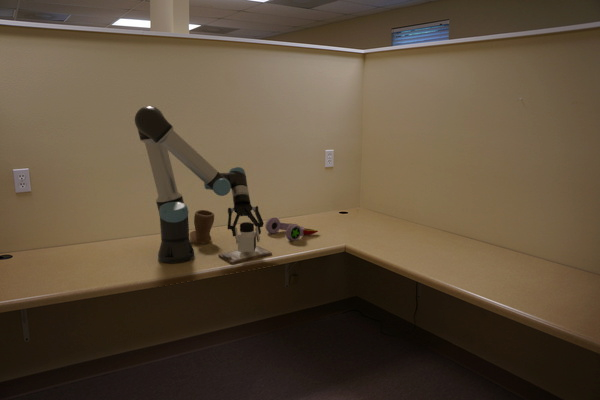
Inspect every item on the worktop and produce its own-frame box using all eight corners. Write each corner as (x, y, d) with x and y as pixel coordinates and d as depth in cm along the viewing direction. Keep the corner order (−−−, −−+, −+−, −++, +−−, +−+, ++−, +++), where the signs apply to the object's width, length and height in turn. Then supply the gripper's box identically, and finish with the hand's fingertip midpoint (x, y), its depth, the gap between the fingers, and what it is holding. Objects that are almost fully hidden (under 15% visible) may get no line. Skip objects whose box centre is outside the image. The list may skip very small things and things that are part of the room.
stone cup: (216, 244, 213) (215, 213, 210) (190, 246, 210) (188, 215, 207) (213, 235, 227) (212, 206, 224) (189, 237, 224) (188, 207, 221)
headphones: (263, 219, 228) (293, 209, 240) (265, 237, 231) (295, 226, 243) (287, 227, 214) (318, 215, 226) (289, 246, 216) (320, 234, 229)
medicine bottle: (254, 252, 193) (254, 225, 191) (237, 252, 193) (237, 225, 191) (256, 247, 200) (255, 221, 198) (240, 246, 200) (239, 220, 198)
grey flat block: (232, 264, 186) (231, 259, 186) (218, 256, 195) (218, 252, 195) (271, 254, 198) (271, 250, 198) (257, 247, 207) (257, 243, 207)
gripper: (262, 200, 210) (270, 243, 199) (217, 203, 204) (222, 247, 193) (265, 191, 204) (273, 235, 193) (218, 194, 198) (223, 239, 187)
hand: (248, 241), depth 193 cm, fingers closed on medicine bottle, 8 cm apart
